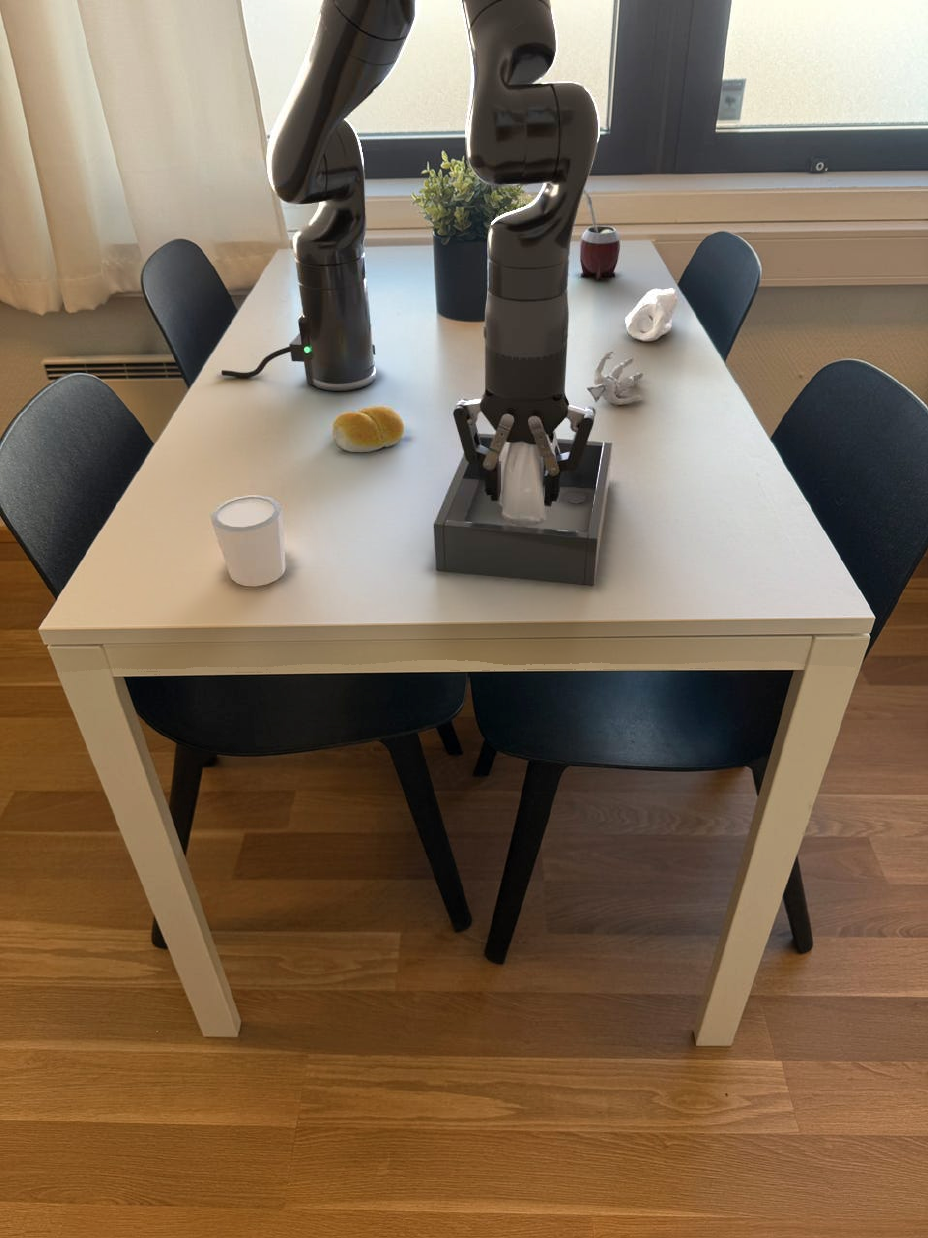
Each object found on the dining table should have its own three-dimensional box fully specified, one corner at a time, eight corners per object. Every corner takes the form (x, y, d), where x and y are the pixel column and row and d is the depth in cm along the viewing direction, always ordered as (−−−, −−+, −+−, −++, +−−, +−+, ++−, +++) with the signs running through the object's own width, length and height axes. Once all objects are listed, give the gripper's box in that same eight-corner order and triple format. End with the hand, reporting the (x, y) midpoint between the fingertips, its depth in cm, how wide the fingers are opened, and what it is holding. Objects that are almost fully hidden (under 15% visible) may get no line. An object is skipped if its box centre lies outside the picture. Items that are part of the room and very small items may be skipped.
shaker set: (546, 536, 91) (554, 439, 84) (506, 539, 91) (511, 441, 84) (524, 478, 100) (530, 386, 93) (487, 480, 100) (491, 387, 93)
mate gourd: (619, 281, 160) (626, 191, 151) (575, 282, 160) (580, 192, 151) (614, 268, 166) (621, 181, 157) (572, 269, 166) (576, 182, 157)
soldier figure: (655, 392, 125) (636, 399, 114) (627, 412, 127) (606, 421, 117) (625, 346, 124) (603, 348, 114) (597, 367, 127) (573, 371, 116)
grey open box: (435, 570, 90) (433, 524, 87) (473, 474, 105) (472, 432, 102) (593, 585, 87) (597, 538, 84) (608, 485, 103) (612, 442, 99)
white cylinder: (228, 554, 93) (215, 496, 89) (294, 549, 94) (284, 491, 89) (219, 592, 88) (205, 533, 84) (289, 587, 88) (278, 528, 84)
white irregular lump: (650, 314, 147) (685, 276, 141) (666, 367, 141) (704, 329, 135) (609, 297, 143) (643, 256, 137) (625, 350, 137) (661, 310, 131)
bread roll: (416, 441, 113) (414, 411, 110) (353, 460, 109) (349, 430, 106) (384, 417, 118) (382, 389, 116) (323, 435, 114) (319, 406, 112)
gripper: (608, 327, 82) (594, 487, 93) (457, 318, 85) (461, 476, 95) (602, 359, 77) (588, 526, 87) (440, 348, 79) (446, 512, 90)
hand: (521, 499), depth 91 cm, fingers closed on shaker set, 5 cm apart
